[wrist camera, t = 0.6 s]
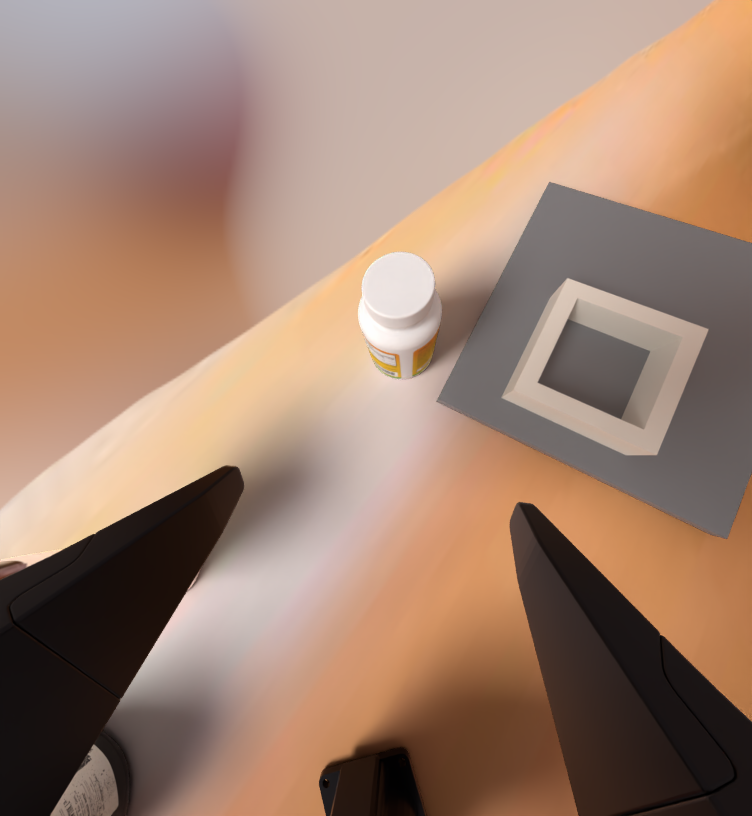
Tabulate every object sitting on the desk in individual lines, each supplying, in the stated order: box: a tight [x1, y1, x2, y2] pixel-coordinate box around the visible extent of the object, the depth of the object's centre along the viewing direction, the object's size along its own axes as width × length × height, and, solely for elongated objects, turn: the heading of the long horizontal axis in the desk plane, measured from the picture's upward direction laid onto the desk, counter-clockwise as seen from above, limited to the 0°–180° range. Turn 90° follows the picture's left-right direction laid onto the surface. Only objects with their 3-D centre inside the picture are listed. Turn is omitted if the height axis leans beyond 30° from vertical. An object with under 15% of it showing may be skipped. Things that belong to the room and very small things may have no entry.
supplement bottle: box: [358, 252, 442, 380], centre depth 19 cm, size 5×5×10 cm
